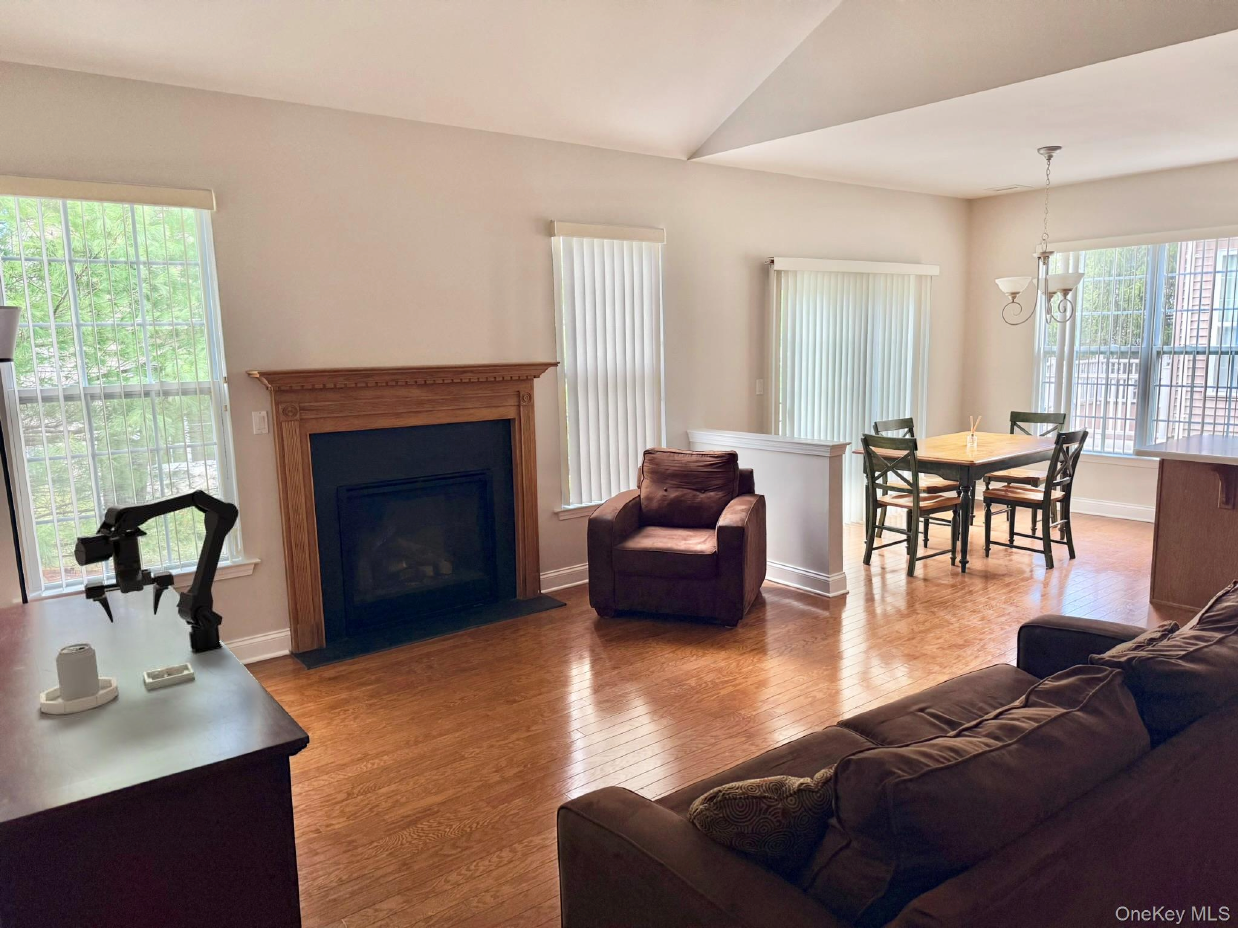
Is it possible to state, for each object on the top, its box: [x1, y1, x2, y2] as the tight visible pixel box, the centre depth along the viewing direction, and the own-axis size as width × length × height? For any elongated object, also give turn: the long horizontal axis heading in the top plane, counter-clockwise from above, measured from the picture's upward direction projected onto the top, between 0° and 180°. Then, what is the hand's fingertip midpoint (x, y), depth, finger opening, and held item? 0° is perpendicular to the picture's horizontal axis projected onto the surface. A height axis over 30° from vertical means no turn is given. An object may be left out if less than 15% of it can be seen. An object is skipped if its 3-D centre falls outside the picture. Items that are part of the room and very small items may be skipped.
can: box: [55, 642, 100, 702], centre depth 189 cm, size 8×8×12 cm
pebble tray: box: [142, 662, 196, 691], centre depth 201 cm, size 10×8×2 cm
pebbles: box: [152, 665, 184, 680], centre depth 200 cm, size 7×5×2 cm
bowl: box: [39, 676, 119, 716], centre depth 190 cm, size 15×15×3 cm
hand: (133, 618), depth 207 cm, fingers open, 9 cm apart
